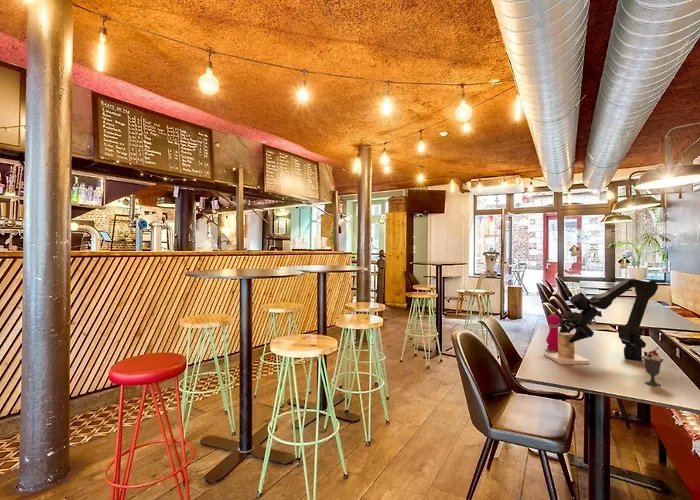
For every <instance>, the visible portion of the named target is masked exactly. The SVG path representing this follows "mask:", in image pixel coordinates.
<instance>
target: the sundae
mask: <svg viewBox="0 0 700 500" xmlns="http://www.w3.org/2000/svg"><path fill="white" fill-rule="evenodd" d="M658 349H659V347H658V346H657V347H656V348H655V349H653V350H651V351H648V352H647V351H643V353H644V354H643V355H644V356H643V355H642V360H643V363H644V367H645V371H646V373H647V374H648V375H650V379H649V381H645V382H644V384H645V385H647V386H652V387H657V386H659V387H661V386H662V385H661V384H660V383H658V382H656V379H655V377H656V376H657V375H659V373H660V371H661V365H662V362H664V358H661V356H660V355H659V353H658V352H657V350H658Z"/></svg>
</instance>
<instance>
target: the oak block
mask: <svg viewBox="0 0 700 500" xmlns="http://www.w3.org/2000/svg"><path fill="white" fill-rule="evenodd" d="M573 335H574V334H573V333H571V332H570V333H559V332H558V351H557V353H558V355H559V356H561V357H563V358H575V354H576V353H575V342H572V343H570V342H569V340H570V339H571V338H572V336H573Z"/></svg>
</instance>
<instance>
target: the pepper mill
mask: <svg viewBox="0 0 700 500" xmlns="http://www.w3.org/2000/svg"><path fill="white" fill-rule="evenodd" d="M546 319H547V323H548V324H547V326H548V327H549V329H548V330H549V331H548V334H547V337H546V339H545V341H546V343H547V346H546V347H547V350H549V351H551V352H552V351H553V352H554V351H555V352H558V337H557V336H558V333H559V328H560V322H559V321H560V320H561V318H560V317H559V316H558V315H556V312H555V311H552V312H551V314H550V315H549V316H547V318H546Z"/></svg>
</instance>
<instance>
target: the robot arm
mask: <svg viewBox="0 0 700 500" xmlns="http://www.w3.org/2000/svg"><path fill="white" fill-rule="evenodd" d="M632 288H634V292H635V295H636V297H635V299H634V303H633V305H632V308H631V311H630V314H629V317H628V320H627V322H626V324H625V325H622V324H621V325H620V326H619V330H618V331H617V333H618V338H619V340H620V341H621V344H622V345H624V347H623V357H624V358H625V359H626V360H634V361H641V362H642V361H643V358H642V357H643V352H642V351H643V350H642V349H644V348H646V346H647V344H646V342H645V341H644V339H642V338H641V337H642V331H641V328H640V327H641V323H642V321H643V318H644V314H645V311H646V309H647V306H648V304H649V303H648V302H649V300H650V299H651V298H652V297H654V296H655V294H656V293H657V291H658V289H659V285H658V284H657V282H656V281H654V280H649V279H636V278H632V277H626V278H623V280H622V281H620V282H619V283H617V284H616V285H614V286H613V287H611V288H610V289H608V290H607V291H605V292H602V293H599V294H596V295H593V296H592V297H590V298H587V297H586V296H585V294H584V293H582V292H579V293H577V294H574V295H573V296H571V297H570V299H569V303H571V305H573V307H575V308H576V310H578V311H581V312H580V313H579V312H577V311H573V312H571V311H567V310H564V313H563V314H562V317H563V318H560V321H559V326H560V330H559V331H558V333H570V334H571V332H572V331H573V330H575V333H574V334H573V336H572V338H571V339H570V340H569V342H570V343H572V342H574V343H575V342H579V341H581V340H584V339H588V338H592V337H593V336H594V333H595V332H594V331H593V330H592V329H591V328H590V327H589V326H591V325H592V321H593V320H594V319H595V318H596V317H599V318H601V317H603V315H602V310H606V309H608V308H609V307H610V306H611V305H612V303H613V301H614V300H615V299H616V298H619V297H620V296H621V295H623V294H625V293H626V292H627V291H629V290H631V289H632ZM598 309H600V310H598ZM588 325H589V326H588ZM557 337H558V336H557Z"/></svg>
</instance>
